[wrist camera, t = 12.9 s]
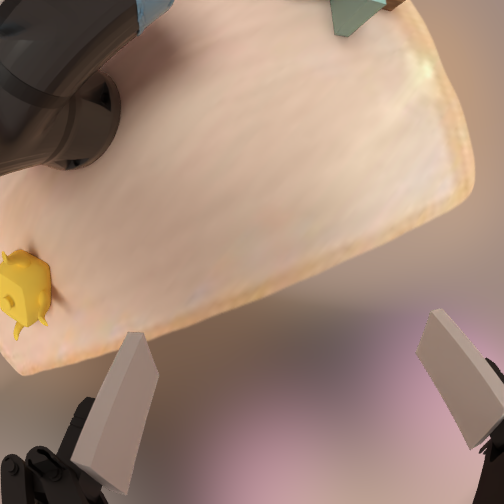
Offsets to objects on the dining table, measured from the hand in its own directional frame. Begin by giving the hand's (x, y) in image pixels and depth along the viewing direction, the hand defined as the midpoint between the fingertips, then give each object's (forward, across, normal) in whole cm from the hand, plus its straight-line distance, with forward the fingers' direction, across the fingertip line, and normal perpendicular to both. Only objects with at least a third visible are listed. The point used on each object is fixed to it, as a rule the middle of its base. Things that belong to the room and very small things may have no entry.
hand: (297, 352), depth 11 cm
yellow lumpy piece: (+27, -44, -10) cm, 52 cm away
